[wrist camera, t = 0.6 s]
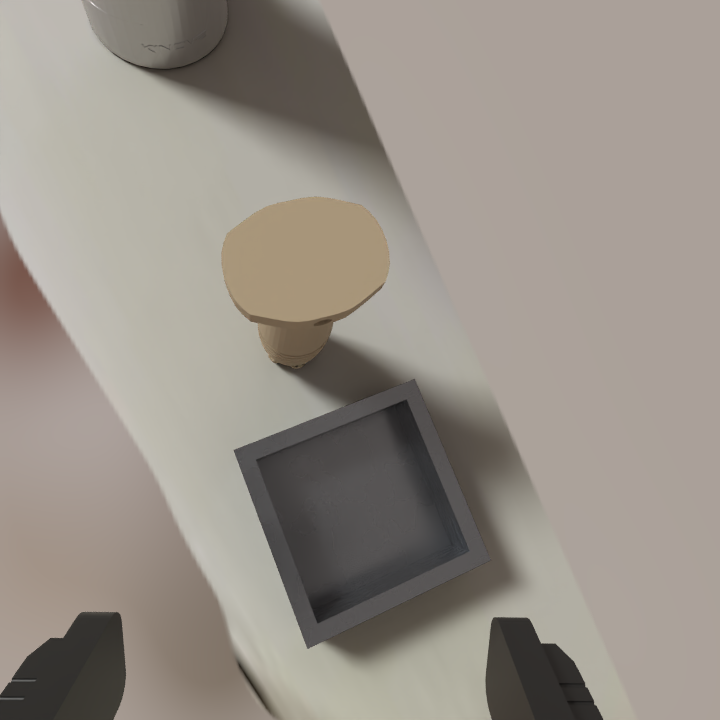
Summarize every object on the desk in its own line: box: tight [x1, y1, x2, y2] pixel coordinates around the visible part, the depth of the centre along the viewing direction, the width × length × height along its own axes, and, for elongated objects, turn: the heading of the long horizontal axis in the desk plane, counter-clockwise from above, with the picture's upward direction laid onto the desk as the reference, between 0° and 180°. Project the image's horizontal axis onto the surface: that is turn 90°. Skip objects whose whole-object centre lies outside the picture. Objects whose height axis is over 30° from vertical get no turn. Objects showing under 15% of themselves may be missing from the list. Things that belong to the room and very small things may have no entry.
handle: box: [222, 197, 390, 369], centre depth 30 cm, size 5×6×15 cm
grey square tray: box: [234, 379, 491, 649], centre depth 34 cm, size 11×11×4 cm
